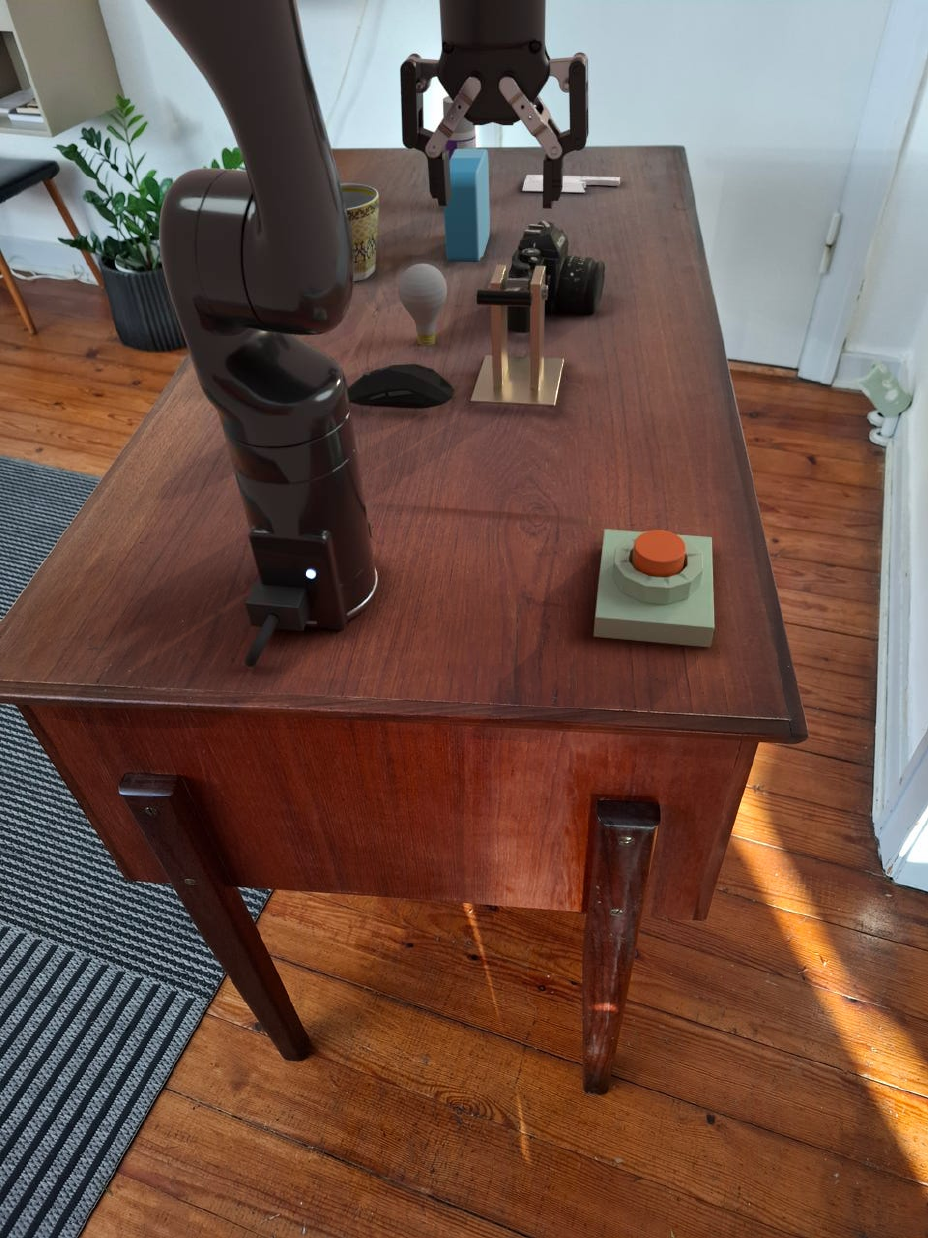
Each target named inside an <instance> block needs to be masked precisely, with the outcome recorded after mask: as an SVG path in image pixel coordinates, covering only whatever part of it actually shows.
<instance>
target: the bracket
mask: <svg viewBox="0 0 928 1238" xmlns="http://www.w3.org/2000/svg"><path fill="white" fill-rule="evenodd" d="M507 269H508V268H507V264H496V267H495V269H494V272H493V275H492V277H491V280H490V282H489V283H488V289H487V290H506V279H508V278H507V277H508V276H507V275H508V274H507V271H508V270H507ZM530 291H532V306H531V307H530V331H529V356H519V355H518V356H516V355H514V356H513V355H508V353H509V351H508V327H507V322H508V319H507V309H508V306H497V305H490V317H491V318H490V324H491V354H485V355H484V359H483V361H482V365H481V367H480V370H479V373H478V376H477V379H476V382H475V386H474V389H473V390H472V394H471V397H470V403H481V404H482V403H484V404H501V405H502V404H503V405H522V406H539V407H555V406H556V402H557V398H558V397H557V396H558V392H559V387H560V381H561V379H562V378H561V377H562V372H563V367H564V362H565V358H561V357H545V315H546V313H545V300H547V299H548V285H545V266H536V267H535V270H534V274H533V277H532V280H531V284H530Z"/></svg>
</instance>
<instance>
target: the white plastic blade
mask: <svg viewBox="0 0 928 1238" xmlns="http://www.w3.org/2000/svg"><path fill="white" fill-rule="evenodd" d="M620 184H621V177H620V176H585V175H583V176H581V175H580V176H579V175H563V188H562V192H561V193H581V194H583V193H586V190H585V189H586V188H587V186H612V187H620ZM521 191H522V192H540V193H541V192H542V193H543V174H527V175H526V176H525V179H524V181H523V186H522V190H521Z"/></svg>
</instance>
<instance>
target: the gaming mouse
mask: <svg viewBox="0 0 928 1238" xmlns="http://www.w3.org/2000/svg"><path fill="white" fill-rule="evenodd" d="M348 393H349V400H350V403H353V404H356V405H359V406H368V407H381V408H382V407H383V408H400V409H428V408H434V407H438V406H441V405H445V404H446V403H448V401H450V400H452V399H453V397H454V393H455V388H454V387H453V386H452V385H451V384H450V383H449V382H448V381H447V380H446V379H445V378H444V377H442V376H441V375H440V374H439V373H438V372H437V371H436V370H434V369H433V368H432V367H431V368H430V367H427V366H424V365H422V364H418V363H405V364H393V365H392V364H391V365H389V366H384V367H382V368H381V367H380V368H378V369H374V370H372V371H370V372H364V373H363V374H362V376H361V377H360V378H359V379H357V380H356V381H355V382H354V383H352V384H351V385H350V386H348Z"/></svg>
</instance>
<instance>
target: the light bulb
mask: <svg viewBox="0 0 928 1238" xmlns="http://www.w3.org/2000/svg"><path fill="white" fill-rule="evenodd" d="M447 293H448V288H447V282H446V279H445V277H444V275H443V273H442V272H441V271H440V270H439V268H437V267H435V266H434V265H432V264H428V263H416V264H413V265H411V266H410V267H408V268H407V269H406V270H405V271H404V272H403V273H402V275H401V276H400V279H399V283H398V297H399V299H400V302H401V304H402V306H403V307H404V308H405V310H406V311H407V312H408V314H409V315H410V317H411V318H412V319H413V321H414V324H415V332H416V339H417V344H419V345H420V346H431V345H434V344H435V343H436V335H435V334H436V331H437V330H436V321H437V318H438V316H439V314H440V311H441V310H442V308H443V306H444V305H445V301H446V299H447Z"/></svg>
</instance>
